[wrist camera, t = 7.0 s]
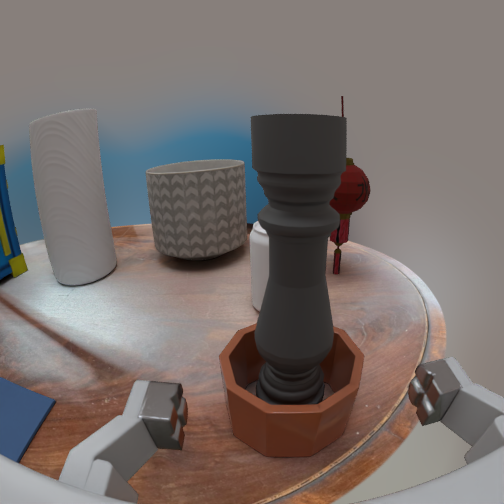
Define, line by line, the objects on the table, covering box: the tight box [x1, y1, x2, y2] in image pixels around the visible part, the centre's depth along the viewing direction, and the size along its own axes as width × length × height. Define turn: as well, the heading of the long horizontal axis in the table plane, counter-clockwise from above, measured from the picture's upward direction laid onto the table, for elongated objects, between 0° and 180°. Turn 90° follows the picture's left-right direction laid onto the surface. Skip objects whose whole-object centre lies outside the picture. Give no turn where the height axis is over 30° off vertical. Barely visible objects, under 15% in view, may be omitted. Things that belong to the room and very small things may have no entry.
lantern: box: [329, 96, 370, 274], centre depth 46 cm, size 10×10×30 cm
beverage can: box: [250, 221, 269, 311], centre depth 41 cm, size 8×8×12 cm
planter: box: [146, 160, 247, 261], centre depth 59 cm, size 19×19×18 cm
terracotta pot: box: [219, 323, 364, 457], centre depth 25 cm, size 12×12×7 cm
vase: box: [29, 109, 117, 285], centre depth 49 cm, size 14×14×32 cm
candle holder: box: [251, 114, 346, 405], centre depth 21 cm, size 6×6×25 cm
